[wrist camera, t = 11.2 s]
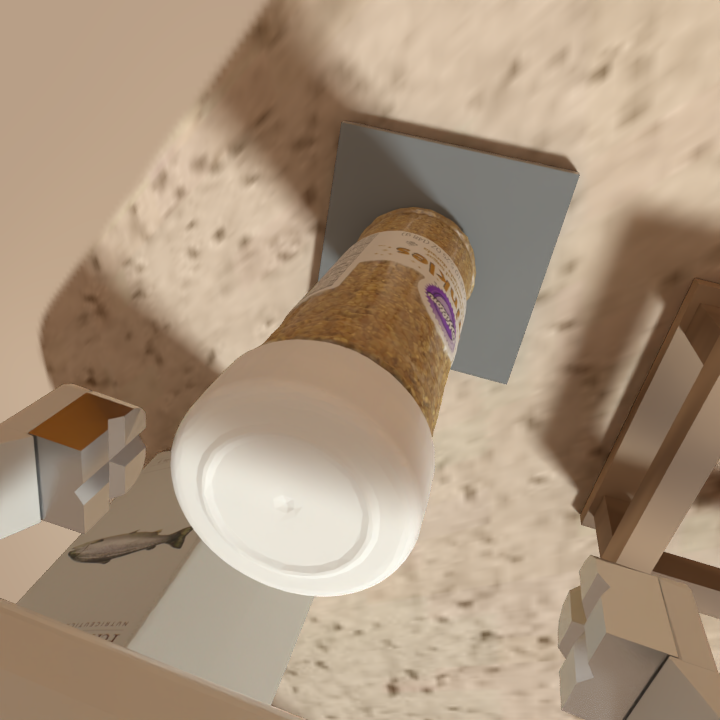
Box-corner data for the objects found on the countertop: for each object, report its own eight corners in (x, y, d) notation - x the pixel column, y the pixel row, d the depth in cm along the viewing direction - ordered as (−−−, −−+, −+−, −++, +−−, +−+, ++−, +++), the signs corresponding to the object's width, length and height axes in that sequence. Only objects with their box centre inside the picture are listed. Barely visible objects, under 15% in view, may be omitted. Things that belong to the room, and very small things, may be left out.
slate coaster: (506, 377, 23) (506, 384, 23) (315, 325, 24) (310, 331, 24) (578, 171, 19) (579, 174, 19) (346, 120, 20) (341, 121, 20)
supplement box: (280, 420, 27) (114, 666, 16) (339, 543, 29) (231, 829, 18) (155, 447, 29) (-62, 674, 19) (219, 558, 32) (62, 815, 21)
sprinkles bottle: (503, 275, 21) (481, 546, 9) (407, 345, 23) (290, 639, 11) (419, 174, 20) (276, 331, 8) (328, 257, 22) (112, 475, 10)
